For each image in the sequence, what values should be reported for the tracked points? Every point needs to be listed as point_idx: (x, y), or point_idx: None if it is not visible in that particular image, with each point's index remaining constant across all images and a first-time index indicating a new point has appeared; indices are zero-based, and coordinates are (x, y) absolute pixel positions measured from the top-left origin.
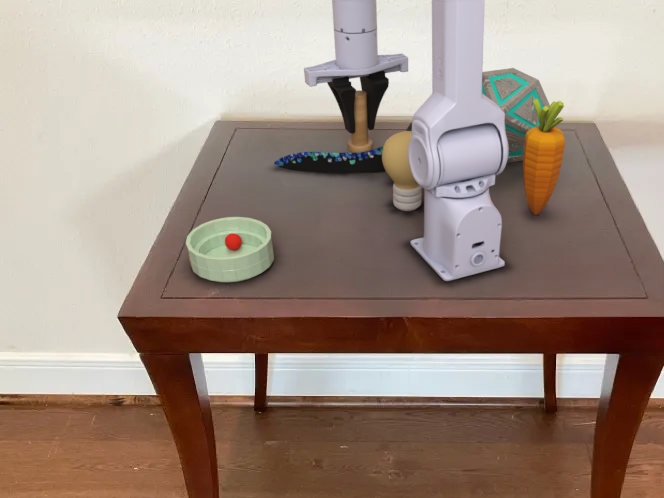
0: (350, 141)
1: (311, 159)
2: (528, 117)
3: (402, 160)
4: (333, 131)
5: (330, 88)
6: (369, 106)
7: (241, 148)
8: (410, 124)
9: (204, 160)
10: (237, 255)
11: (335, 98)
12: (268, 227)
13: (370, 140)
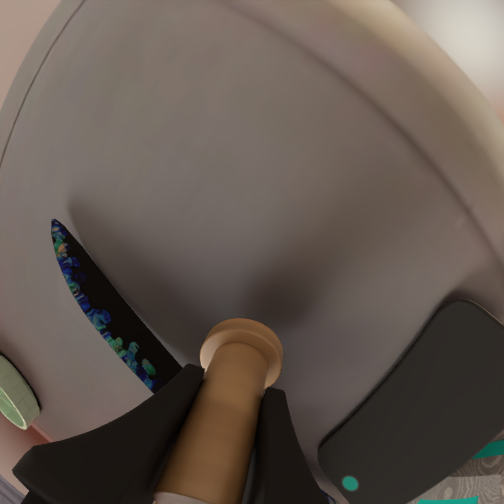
0: (216, 342)
1: (98, 307)
2: None
3: None
4: (325, 82)
5: (59, 445)
6: (246, 483)
7: (60, 65)
8: (478, 313)
9: (6, 99)
10: (8, 418)
11: (105, 424)
12: (23, 418)
13: (273, 376)
